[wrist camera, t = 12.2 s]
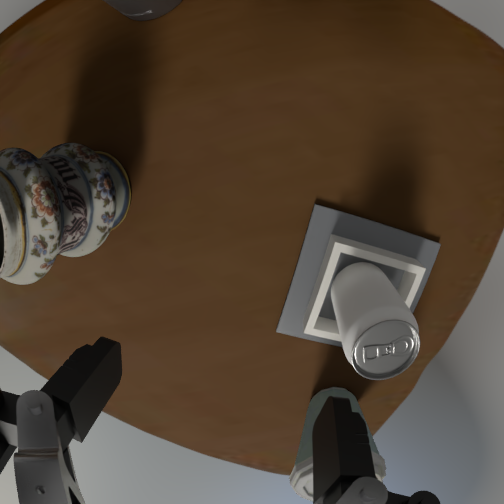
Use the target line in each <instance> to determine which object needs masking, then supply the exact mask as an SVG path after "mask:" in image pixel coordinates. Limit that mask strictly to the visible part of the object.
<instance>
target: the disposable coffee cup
mask: <svg viewBox="0 0 504 504" xmlns="http://www.w3.org/2000/svg"><path fill="white" fill-rule="evenodd" d="M329 396H336V397H344V398H349V399H350V403H351V408H352V412H359V413H360V415H361V416H362V418H363V419H364V421H365V418H364V416H363V414H362V411H361V409H360V406H359V404H358V402H357V399H356V397H355V396H354V395H353V394H352V393H351V392H349V391H348V390H346V389H345V388H338V387H331V388H328V389H324V390H321V391H320V392H318V393H317V394H316V395H315V396H313V398H312V399H311V401H310V404H309V407H308V410H307V415H306V419H305V424H304V428H303V433H302V437H301V441H300V445H299V450H298V454H297V458H296V462H295V466H294V469H293V471H292V473H291V475H290V477H289V479H290V485H291V486H292V487H293V489H294V490H295V492H296V493H297V494H298V495H299V496H301V497H302V498H305V499H307V500H310V501H313V447H312V431H313V426H314V422H315V420H316V418H317V416H318V415H319V413H320V411H321V409H322V407H323V405H324V403H325V402H326V400H327V398H328V397H329ZM365 422H366V421H365ZM366 427H367V432H368V435H367V436H368V437H369V442H370V443H369V445H370V447H371V453H372V458H373V464H374V469H375V475H376V479H378V480H380V481H381V482H382V483H383V481H382V479H383V478H384V477H385V476H386V473H385V470H386V466H385V461H384V459H383V458H382V457H381V456H380V455H379V452H378V450H377V447H376V445H375V442H374V440H373V437H372V435H371V433H370V430H369V428H368V425H367V423H366Z"/></svg>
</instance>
